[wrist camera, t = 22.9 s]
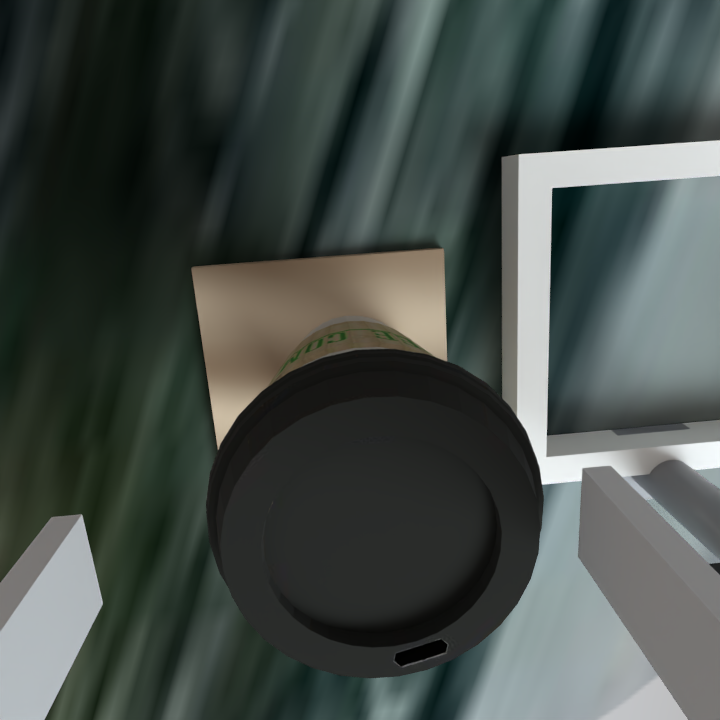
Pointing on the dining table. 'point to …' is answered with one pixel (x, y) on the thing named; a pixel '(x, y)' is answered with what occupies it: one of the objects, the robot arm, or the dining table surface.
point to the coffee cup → (374, 505)
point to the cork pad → (307, 313)
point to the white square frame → (531, 335)
